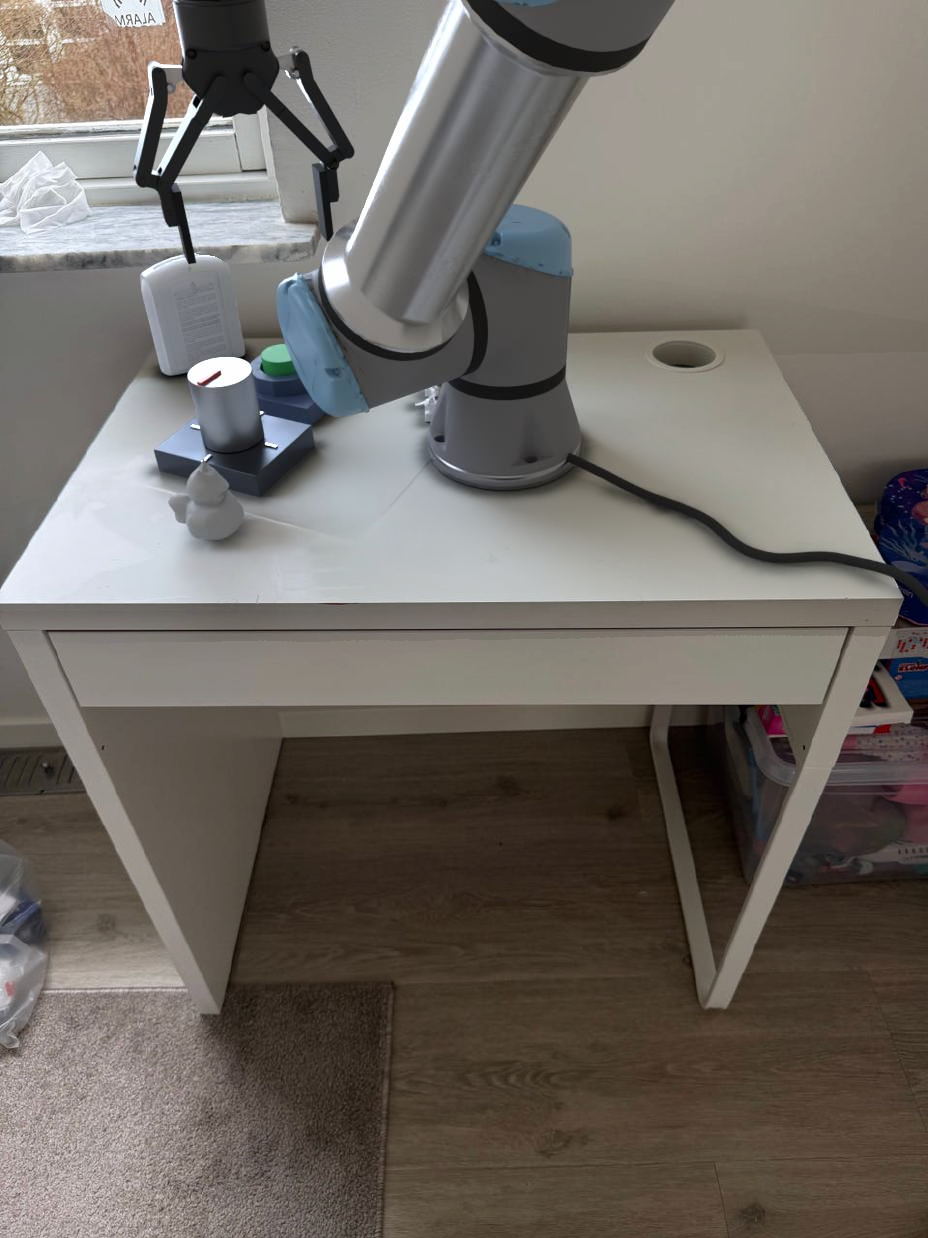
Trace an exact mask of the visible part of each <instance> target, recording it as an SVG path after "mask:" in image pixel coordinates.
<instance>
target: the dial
mask: <svg viewBox="0 0 928 1238" xmlns="http://www.w3.org/2000/svg"><path fill="white" fill-rule="evenodd" d="M186 377H187V381H188V385H189V390H190V394H191V398H192V403H193V407H194V411H195V415H196V416H197V419H198V423H199V428H200V432H201V436H202V440H203V443H204V445H205V446H206V447H207V448H208V449H210V450H213V451H216V452H223V453H231V452H238V451H243V450H246V449H249V448H251V447H253V446H255V445H256V444H258V443H259V442H260V441H261V440H262V438H263V436H264V430H263V424H262V419H261V414H260V408H259V403H258V398H257V392H256V387H255V382H254V377H253V371H252V367H251V365H250V362H248V360H245V359H242V358H240V357H239V358H232V357H222V358H214V359H210V360H206V361H203V362H201V363H199V364H197V365H195V366H194V367H192V368H191V369H190V371H189V372H187V376H186Z"/></svg>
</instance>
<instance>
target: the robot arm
mask: <svg viewBox="0 0 928 1238" xmlns="http://www.w3.org/2000/svg"><path fill="white" fill-rule="evenodd" d="M675 2H676V0H444V3H443V5H442V8H441V11H440V13H439V16H438V18H437V21H436V24H435V25H434V29H433V31H432V34H431V36H430V38H429V41H428V44H427V46H426V49H425V52H424V54H423V55H422V58H421V61H420V65H419V67H418V70H417V72H416V75H415V77H414V79H413V82H412V85H411V87H410V90H409V91H408V96H407V98H406V99H405V103H404V105H403V107H402V110H401V113H400V115H399V117H398V121H397V122H396V126H395V128H394V130H393V133H392V136H391V138H390V141H389V143H388V146H387V148H386V151H385V154H384V156H383V159H382V161H381V163H380V166H379V169H378V171H377V174H376V177H375V179H374V182H373V183H372V184H373V185H372V187H371V189H370V192H369V195H368V197H367V199H366V202H365V205H364V208H363V209H362V212H361V214H360V216H358V217H356V218H353V219H351V220H349V221H347V222H346V223H344V224H343V225H342V226H341V227H339V229H337V230H336V231H334V225H333V215H332V207H331V203H338V202H339V199H340V188H339V179H338V169H339V167H340V163H341V162H343V161H345V160H350V159H352V158H353V157H354V156H355V148H354V146H353V144H352V142H351V140H350V139H349V137H348V136H347V134H346V132H345V130H344V129H343V127H342V125H341V124H340V122H339V120H338V118H337V116H336V115H335V113H334V111H333V110H332V108H331V106H330V104H329V102H328V101H327V99H326V98H325V95H324V94H323V92H322V91H321V89H320V87H319V85H318V83H317V82H316V80H315V78H314V73H313V69H312V64H311V60H310V56H309V54H308V53H307V52H306V51H305V50H303V49H302V48H301V47H300V46H298V45H294V46H291V48H290V49H289V50H288V51H285V52H282V53H278V54H275V52H274V50H273V47H272V44H271V37H270V29H269V22H268V15H267V8H266V1H265V0H172V5H173V10H174V16H175V21H176V26H177V31H178V37H179V43H180V48H181V55H182V56H181V61H180V64H178V65H177V64H173V65H172V64H160V63H159V62H158V61H155V60H152V61H150V62H149V63H148V65H147V75H148V76H147V77H148V84H149V94H148V99H147V102H146V103H147V104H146V107H145V111H144V117H143V121H142V126H141V130H140V133H139V134H140V135H139V138H138V142H137V143H138V144H137V148H136V152H135V155H134V156H135V157H134V161H133V166H132V171H131V175H132V176H133V179H134V181H135V184H136V185H137V186H138V187H139V188H143V189H145V188H148V189H153V190H154V191H156V192H157V195H158V201H159V205H160V209H161V213H162V216H163V219H164V223H166V226H167V227H168V228H176V227H177V229H178V230H177V231H178V233H179V234H178V235H179V239H180V243H181V248H182V252H183V255H184V256H185V258H186V260H187V262H188V264H194V263H196V259H195V254H194V253H195V250H194V246H193V245H194V244H193V240H192V235H191V231H190V226H189V221H188V217H187V213H186V207H185V203H184V199H183V194H182V190H181V188H180V187H179V185H178V183H177V182H176V180H177V179H178V177H179V174H180V173H181V171H182V169H183V167H184V165H185V163H186V162H187V159H188V158H189V156H190V154H191V152H192V151H193V148H194V147H195V145H196V143H197V141H198V139H199V137H200V136H201V134H202V132H203V130H204V128H205V127H206V126H208V124H209V122H210V120H211V118H212V116H213V115H216V116H218V117H221V118H222V119H226V118H232V117H234V116H236V115H247V116H250V115H257V114H258V112H259V111H261V110H262V109H263V107H264V106H265V107H266V108H267V109H268V110H269V111H270V112H271V113H272V114H273V115H274V116H275V117H276V118H277V119H278V120H279V121H280V122H281V123H282V124H283V125H284V126H285V127H286V128H287V129H288V130H289V131H290V132H291V133H292V134H293V135H294V136H295V137H296V138H297V139H298V140H299V141H300V142H301V143H302V144H303V145H304V146H305V147H306V148H307V149H308V150H309V151H310V153H312V154H313V155H314V156H315V157H316V158H317V159H318V160H319V162H315V163H311V172H312V178H313V179H312V180H313V187H314V194H315V195H314V196H315V203H316V211H317V220H318V229H319V234H320V235H321V236H322V237H323V238H324V240H325V241H326V242H327V245H326V247H325V249H324V252H323V255H322V258H321V260H320V263H319V266H318V268H316V269H315V270H312V271H308V272H306V273H302V272H301V271H299V272H295V273H294V275H293V276H290V277H287V278H284V280H282V281H281V282H280V283H279V285H278V286H277V290H276V296H275V300H276V301H275V303H276V314H277V319H278V323H279V327H280V330H281V334H282V337H283V341H284V344H286V347H287V350H288V352H289V355H290V357H291V360H292V362H293V365H294V367H295V369H296V371H297V373H298V375H299V377H300V379H301V381H302V383H303V385H304V387H305V388H306V390H307V391H308V393H309V395H310V396H311V398H312V399H313V400H314V402H315V403H316V404H317V405H318V406H319V407H320V408H321V409H322V410H323V411H324V412H326V413H325V414H327V415H329V416H331V417H335V418H345V417H349V416H353V415H357V414H361V413H365V414H367V413H369V412H370V409H374V408H377V407H380V406H382V405H385V404H388V403H390V402H393V401H396V400H399V399H402V398H405V397H408V396H410V395H414V394H416V393H419V392H422V391H425V389H428V388H431V387H433V386H436V385H437V386H439V385H441V387H440V389H439V396H437V399H436V400H437V403H436V406H435V410H434V413H433V416H432V419H431V422H430V423H429V427H428V433H427V447H428V456H429V458H430V461H431V462H432V464H433V466H434V467H435V468H436V469H437V470H438V471H439V472H440V473H442V474H443V475H444V476H445V477H448V478H450V479H452V480H454V481H456V482H457V483H461V484H463V485H467V486H470V487H474V488H479V489H485V490H495V491H514V490H522V489H528V488H533V487H538V486H542V485H544V484H547V483H550V482H552V481H555V480H557V479H559V478H560V477H562V476H563V475H565V474H567V473H568V472H569V471H570V470H571V469H572V468H573V467H574V466H575V467H578V468H580V469H582V470H584V471H585V472H587V473H590V474H592V475H593V476H596V477H598V478H600V479H602V480H604V481H606V482H608V483H610V484H611V485H614V486H615V487H617V488H620V489H622V490H623V491H625V492H627V493H629V494H630V495H633V496H636V497H638V498H640V499H642V500H645V501H647V502H649V503H653V504H654V505H657V506H660V507H664V508H667V509H669V510H672V511H675V512H678V513H679V514H683V515H685V516H687V517H689V518H691V519H694V520H696V521H698V522H700V523H701V524H703V525H704V526H706V527H708V529H710V530H711V531H712V532H714V534H716V535H717V537H719V538H720V539H721V540H722V541H723V542H724V543H725V544H727V545H728V546H729V547H730V548H732V549H733V550H735V551H736V552H738V553H739V554H741V555H744V556H746V557H749V558H751V559H754V560H757V561H761V562H766V563H771V564H799V563H813V562H814V563H815V562H816V563H818V562H819V563H820V562H821V563H822V562H823V563H825V562H826V563H835V564H841V565H845V566H850V567H854V568H857V569H861V570H862V569H863V570H868V571H871V572H874V573H878V574H881V575H884V576H887V577H889V578H892V579H894V580H896V581H898V582H899V583H901V584H903V585H904V586H906V587H907V588H908V589H909V590H911V592H912V593H914V595H915V596H916V597H917V598H918V599H919V601H920V602H921V604H922V605H924V606H925V607H926V608H928V589H927V588H926V587H925V586H924V585H923V584H922V583H921V582H920V581H919V580H918V579H917V578H915V576H913V575H911V574H910V573H908V572H906V571H905V570H903V569H901V568H899V567H896V566H895V565H891V564H888V563H885V562H882V561H877V560H874V559H870V558H865V557H860V556H855V555H850V554H847V553H841V552H837V551H836V552H835V551H824V550H823V551H822V550H819V551H817V550H815V551H800V552H799V551H798V552H772V551H767V550H764V549H763V550H762V549H759V548H756V547H753V546H751V545H749V544H747V543H745V542H744V541H742V540H740V539H739V538H738V537H736V536H735V535H733V533H731V532H730V531H729V530H728V529H727V528H726V527H725V526H724V525H723V524H721V523H720V522H719V521H717V519H715V518H714V517H712V516H711V515H709V514H707V513H705V512H704V511H702V510H699V509H698V508H696V507H694V506H690V505H689V504H686V503H683V502H680V501H678V500H675V499H672V498H669V497H666V496H663V495H661V494H658V493H655V492H652V491H650V490H648V489H645V488H643V487H641V486H639V485H637V484H634V483H633V482H630V481H628V480H627V479H625V478H623V477H621V476H619V475H617V474H615V473H613V472H611V471H609V470H606V469H605V468H604V467H601V466H599V465H597V464H595V463H593V462H590V461H589V460H587V459H584V458H582V457H580V453H581V444H582V442H581V441H582V432H581V427H580V422H579V419H578V415H577V413H576V408H575V406H574V405H575V404H574V402H573V399H572V396H571V393H570V389H569V386H568V383H567V378H566V377H567V360H568V359H567V358H568V342H569V341H568V339H569V324H570V311H571V310H570V309H571V308H570V307H571V297H572V296H571V294H572V280H573V276H574V268H573V267H572V266H573V265H572V264H573V262H572V259H573V258H572V257H573V255H572V252H573V251H572V249H573V247H572V243H573V242H572V234H571V232H570V230H569V228H568V227H567V225H566V224H565V223H564V221H562V220H561V219H560V218H559V217H557V216H555V215H553V214H551V213H549V212H547V211H544V210H542V209H539V208H535V207H532V206H528V205H523V204H519V203H514V202H515V201H516V199H517V197H518V196H519V194H520V193H521V191H522V189H523V188H524V186H525V184H526V183H527V181H528V180H529V178H530V176H531V174H533V171H534V170H535V168H536V167H537V165H538V164H539V162H540V160H541V158H542V157H543V155H544V153H545V152H546V150H547V148H548V147H549V145H550V144H551V142H552V140H553V139H554V137H555V136H556V134H557V133H558V131H559V129H560V127H561V126H562V125H563V123H564V121H565V119H566V118H567V116H568V115H569V113H570V111H571V110H572V108H573V106H574V105H575V103H576V102H577V100H578V98H579V96H580V95H581V93H582V92H583V90H584V88H585V87H586V85H587V83H588V82H589V80H590V79H591V78H595V77H601V76H607V75H609V74H613V73H617V72H618V71H620V70H622V69H624V68H626V67H628V65H630V64H631V63H632V62H633V61H634V60H635V59H636V58H637V57H638V56H639V55H640V54H641V52H643V50H644V49H645V47H646V46H647V43H648V42H649V40H650V39H651V38H652V36H653V35H654V33H655V32H656V30H657V29H658V28H659V26H660V25H661V24H662V21H663V20H664V18H665V17H666V15H667V14H668V12H669V11H670V9H671V8H672V7H673V5H674V4H675ZM281 70H282V71H283V70H284V71H285V74H286V75H287V76H288V77H289V79H291V80H293V81H294V80H295V81H296V83H297V85H298V86H299V88H300V90H301V92H302V93H303V95H304V96H305V98H306V100H307V102H308V103H309V105H310V107H311V108H312V110H313V112H314V114H315V116H316V117H317V119H318V121H319V122H320V124H321V125H322V127H323V129H324V131H325V132H326V134H327V136H328V137H329V139H330V141H331V142H332V144H331V145H330V146H328V147H326V146H325V144H323V143H322V142H321V141H320V139H319V138H318V137H316V136H315V134H313V133H312V131H311V130H310V129H309V128H308V127H307V126H306V125H305V124H304V123H303V122H301V120H300V119H299V117H297V116H296V115H295V114H294V113H293V112H292V111H291V109H289V108H288V107H287V106H286V105H285V104H284V103H283V102H282V101H281V100H280V99H279V98H278V97H277V96H276V95H275V93H274V92H273V91H272V89H273V88H274V87H273V86H274V85H275V83H276V81H277V78H278V77H279V73H280V71H281ZM182 81H183V82H184V83H185V85H186V86H187V87H188V88H189V89H190V90H191V91H192V93H193V94H194V95H193V96H192V99H191V101H190V103H189V104H188V108H187V111H186V113H185V115H184V117H183V119H182V121H181V123H180V125H179V127H178V128H177V130H176V132H175V134H174V136H173V138H172V139H171V141H170V144H169V146H168V148H167V149H166V151H165V154H164V155H163V158H162V159H161V161H160V163H159V165H158V167H157V169H156V170H154V165H155V161H156V158H157V157H156V156H157V152H158V149H159V145H160V140H161V135H162V132H163V126H164V122H165V118H166V113H167V110H168V105H169V95H173V94H174V93H175V92H176V90H177V85H178V83H179V82H182ZM334 232H335V233H334Z"/></svg>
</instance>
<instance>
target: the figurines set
mask: <svg viewBox="0 0 928 1238" xmlns="http://www.w3.org/2000/svg"><path fill="white" fill-rule="evenodd" d="M439 393H440V387H439V385H436V386H433V387H431V388H428V389H425V390H424V397H425V398H426V399H424V400H423V401H421V402H415V403H414V405H415V407H418V406H421V405H423V406H424V421H425V422H426V423H428V422H430V423H431V419H432V416H433V413H434V410H435V406H436V403H437V400H438V399H436V397H437V398H438V397H439Z"/></svg>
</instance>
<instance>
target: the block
mask: <svg viewBox="0 0 928 1238" xmlns="http://www.w3.org/2000/svg"><path fill="white" fill-rule="evenodd" d="M249 364H250V365H251V367H252V371H253V377H254V382H255V387H256V392H257V398H258V403H259V408H260V412H261V411H262V412H264V414H265V415H269V416H274V417H278V418H282V419H286V420H291V421H295V422H299V423H304V424H308V425H312V426H313V425H314V424H315V423H317V422H318V421H319V420H320V419H321V418H322V417H323V416H324V415H325V414H327V413H326V412H324V411H323V410H322V409H321V408H320V407H319V406H318V405H317V404H316V403H315V402H314V400H313V399H312V398H311V396H310V395H309V393H308V391H307V390H306V388H305V387H304V385H303V383H302V381H301V379H300V377H299V375H298V373H294V374H291V375H287V376H273V375H268V374H265V372H264V370H263V365H262V359H261V354H260V355H259V356H257V357H256V358H255V359H253V360H252V361H251V362H249Z"/></svg>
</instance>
